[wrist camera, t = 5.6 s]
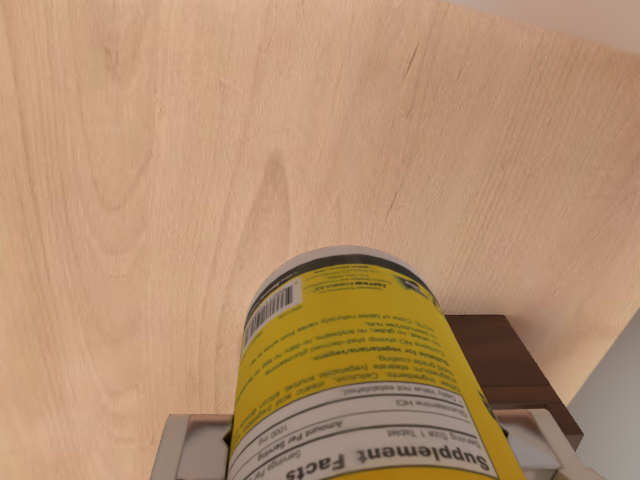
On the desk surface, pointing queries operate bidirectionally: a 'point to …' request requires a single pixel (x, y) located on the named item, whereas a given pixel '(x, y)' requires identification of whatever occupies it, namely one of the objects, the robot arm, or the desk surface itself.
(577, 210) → the desk surface
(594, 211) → the desk surface
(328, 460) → the pill bottle
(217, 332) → the desk surface
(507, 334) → the shelf
